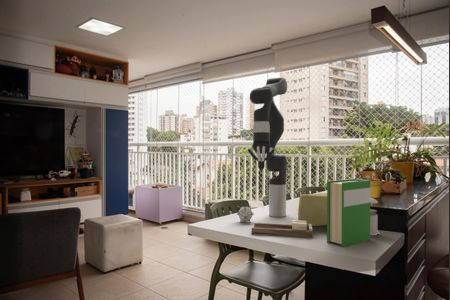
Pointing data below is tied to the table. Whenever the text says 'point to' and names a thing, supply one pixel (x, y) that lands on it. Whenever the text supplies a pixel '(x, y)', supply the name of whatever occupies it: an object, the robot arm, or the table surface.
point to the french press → (373, 217)
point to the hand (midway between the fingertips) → (261, 169)
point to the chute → (281, 230)
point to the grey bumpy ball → (245, 214)
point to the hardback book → (348, 211)
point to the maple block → (299, 225)
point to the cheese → (313, 209)
